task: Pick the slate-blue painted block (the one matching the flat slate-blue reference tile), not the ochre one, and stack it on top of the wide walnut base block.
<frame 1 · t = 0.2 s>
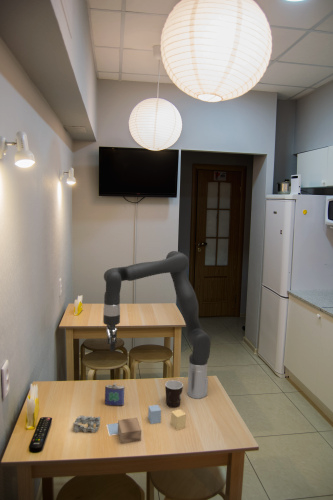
hand: (111, 347, 164), 29 cm above the table, fingers open, 8 cm apart
egg carton: (86, 428, 151), on the table
ochre block: (178, 425, 155), on the table
coffee mug: (170, 405, 170), on the table
reference tile: (116, 429, 150), on the table
flask: (114, 404, 169), on the table
blue block: (154, 420, 158), on the table
base block: (129, 435, 146), on the table, touching reference tile
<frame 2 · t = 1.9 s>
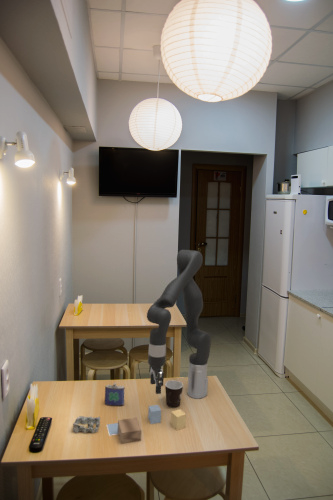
hand: (155, 388, 156), 15 cm above the table, fingers open, 8 cm apart
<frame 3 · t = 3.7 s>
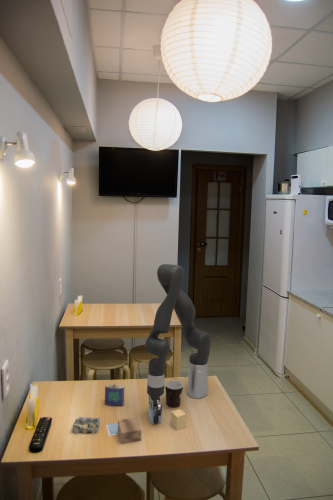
hand: (154, 419, 157), 1 cm above the table, fingers closed on blue block, 4 cm apart
blue block: (154, 420, 157), on the table, touching gripper
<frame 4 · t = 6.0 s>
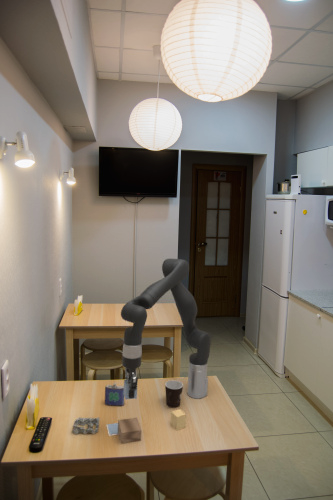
hand: (130, 394, 144), 18 cm above the table, fingers closed on blue block, 4 cm apart
blue block: (129, 396, 144), point 17 cm above the table, touching gripper
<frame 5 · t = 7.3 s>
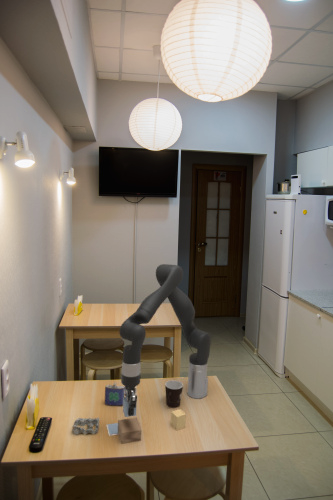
hand: (129, 411, 145), 11 cm above the table, fingers closed on blue block, 4 cm apart
blue block: (129, 413, 145), point 10 cm above the table, touching gripper
when the fingers open (7 cm above the table, at t = 8.4 s): blue block stays where it is, resting on base block.
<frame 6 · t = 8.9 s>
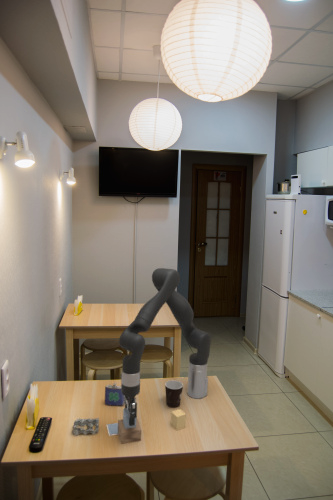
hand: (129, 419, 145), 8 cm above the table, fingers open, 8 cm apart
blue block: (129, 424, 145), point 5 cm above the table, touching base block
base block: (129, 435, 146), on the table, touching blue block, reference tile
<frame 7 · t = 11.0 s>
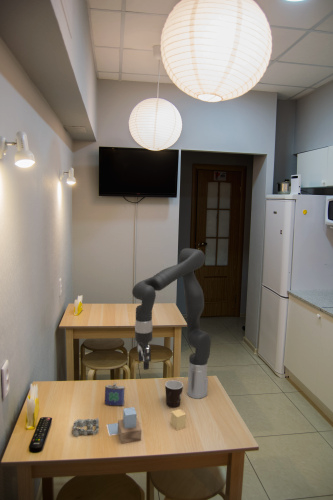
hand: (143, 364, 157), 25 cm above the table, fingers open, 8 cm apart
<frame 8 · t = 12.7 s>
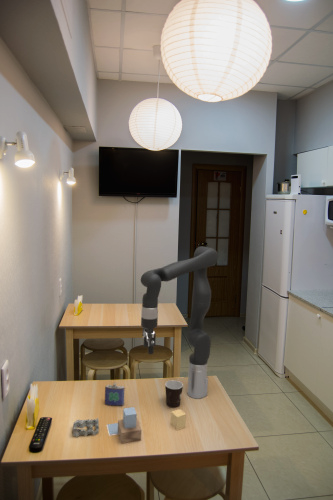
hand: (148, 350, 164), 28 cm above the table, fingers open, 8 cm apart
at the end: blue block 0.0 cm off-centre on the base block, point 5.0 cm above the base block's base; blue block tilted 4°; base block moved 0.2 cm from its start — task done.
